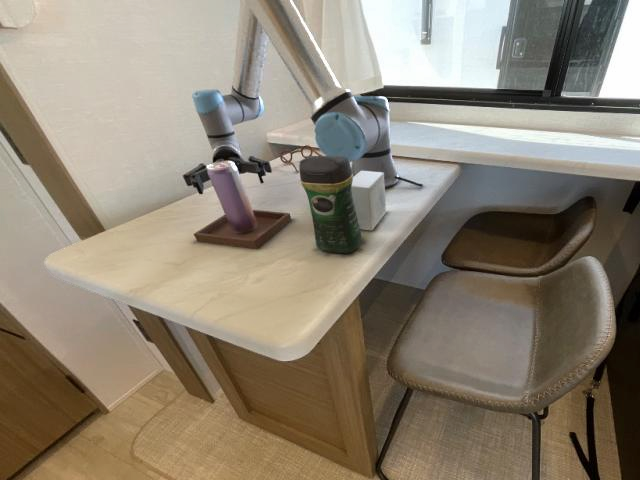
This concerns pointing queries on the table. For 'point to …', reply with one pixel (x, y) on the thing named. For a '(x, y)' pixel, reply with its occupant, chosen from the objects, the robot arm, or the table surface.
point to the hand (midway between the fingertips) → (230, 182)
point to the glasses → (296, 152)
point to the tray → (263, 232)
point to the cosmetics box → (369, 198)
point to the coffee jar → (331, 202)
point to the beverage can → (232, 196)
